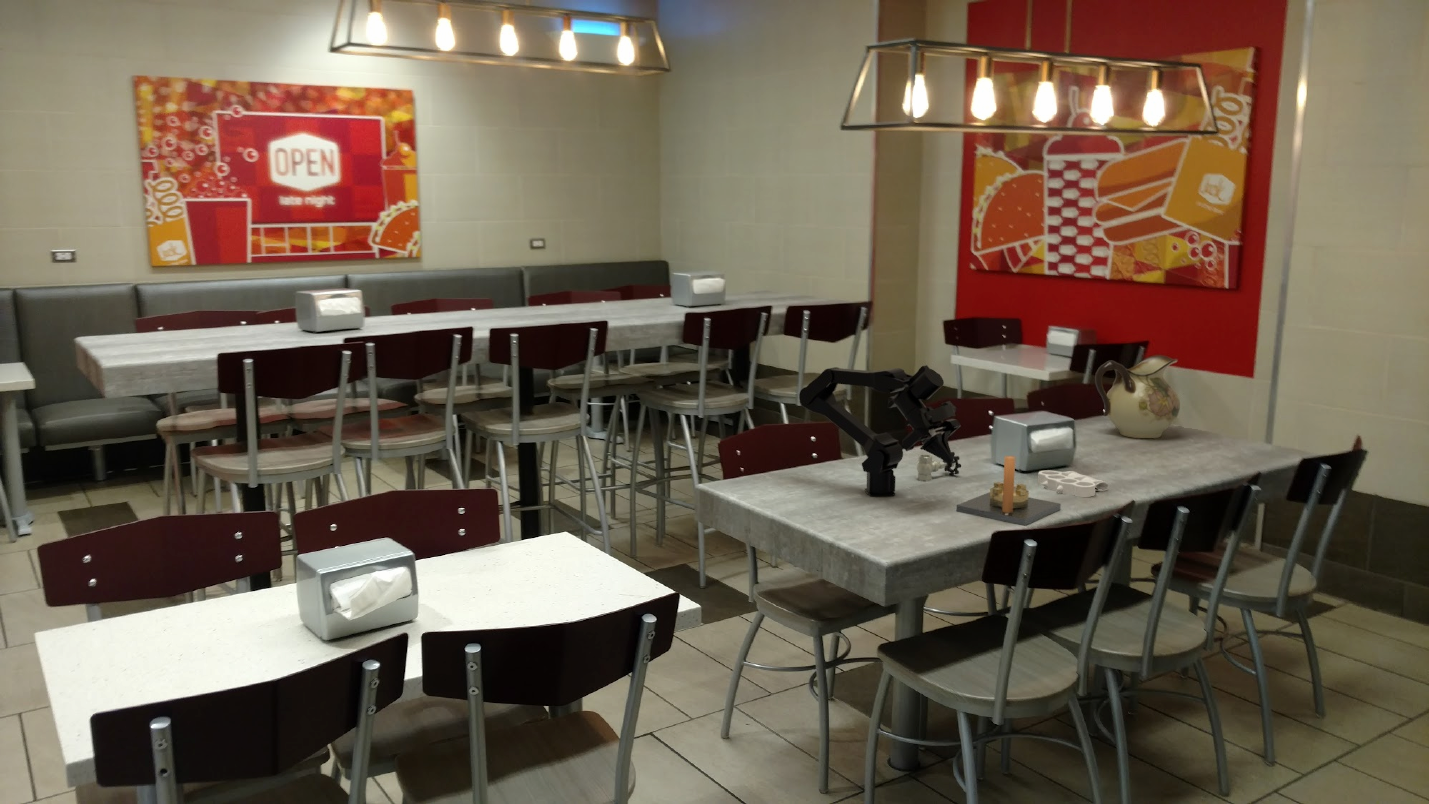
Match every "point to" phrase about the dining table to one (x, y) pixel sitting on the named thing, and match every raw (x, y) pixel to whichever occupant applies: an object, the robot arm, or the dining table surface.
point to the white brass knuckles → (1070, 483)
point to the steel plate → (1018, 516)
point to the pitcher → (1140, 397)
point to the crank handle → (1009, 490)
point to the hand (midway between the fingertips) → (951, 462)
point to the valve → (935, 466)
